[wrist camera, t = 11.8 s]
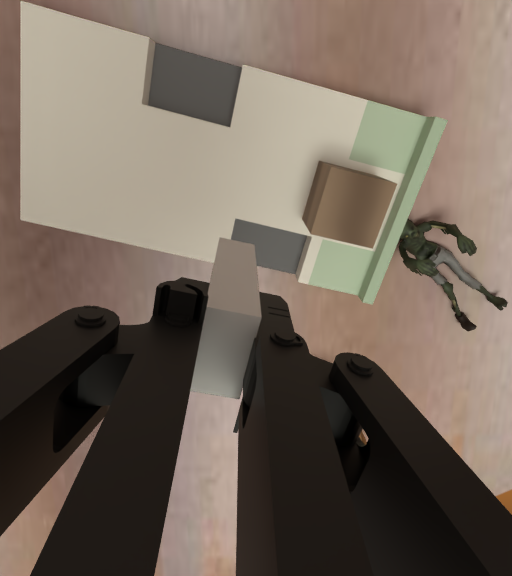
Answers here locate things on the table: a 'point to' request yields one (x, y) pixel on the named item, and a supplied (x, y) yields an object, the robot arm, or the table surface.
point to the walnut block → (347, 204)
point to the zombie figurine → (434, 255)
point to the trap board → (201, 151)
